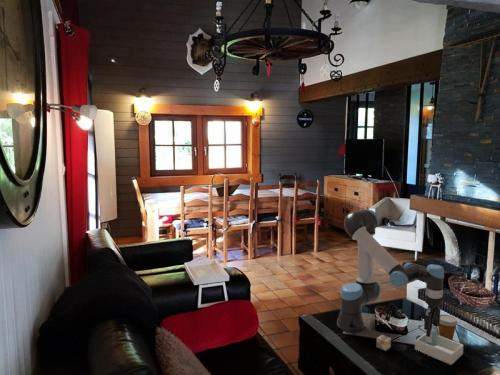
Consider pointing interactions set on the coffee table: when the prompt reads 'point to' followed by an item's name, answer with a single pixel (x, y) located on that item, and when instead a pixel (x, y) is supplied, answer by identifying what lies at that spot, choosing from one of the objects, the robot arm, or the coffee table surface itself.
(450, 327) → the disposable coffee cup
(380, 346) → the beech cube
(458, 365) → the coffee table surface
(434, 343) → the teal capsule
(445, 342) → the tote
